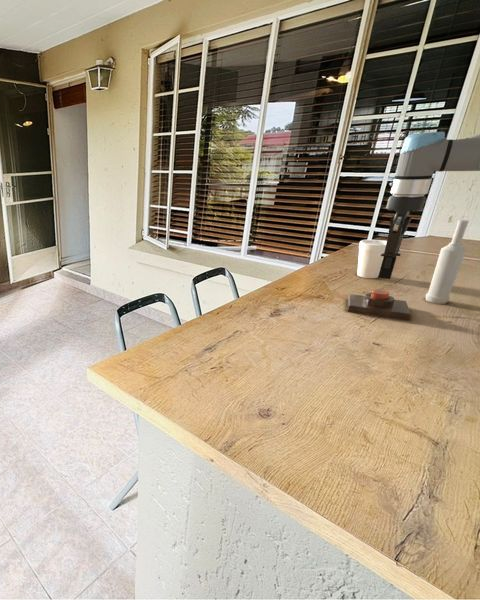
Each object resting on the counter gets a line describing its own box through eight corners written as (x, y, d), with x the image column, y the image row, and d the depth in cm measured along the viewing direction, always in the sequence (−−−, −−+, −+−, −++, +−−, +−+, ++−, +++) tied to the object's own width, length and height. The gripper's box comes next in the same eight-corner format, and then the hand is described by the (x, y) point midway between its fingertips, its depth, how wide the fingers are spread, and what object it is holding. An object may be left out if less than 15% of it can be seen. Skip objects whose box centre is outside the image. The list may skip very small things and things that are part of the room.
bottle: (429, 303, 108) (456, 221, 99) (421, 297, 112) (447, 218, 103) (451, 304, 106) (481, 221, 97) (442, 298, 110) (470, 218, 101)
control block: (404, 306, 107) (407, 294, 105) (409, 320, 98) (413, 307, 97) (347, 299, 114) (350, 287, 113) (347, 311, 106) (350, 299, 105)
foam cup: (352, 277, 133) (360, 244, 128) (352, 270, 140) (359, 238, 135) (384, 280, 127) (394, 246, 123) (382, 273, 134) (391, 240, 130)
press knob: (386, 297, 105) (388, 290, 105) (388, 301, 102) (390, 295, 102) (370, 295, 108) (371, 288, 107) (370, 299, 105) (372, 293, 104)
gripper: (393, 192, 101) (372, 270, 110) (385, 197, 93) (363, 280, 102) (429, 193, 96) (404, 274, 105) (423, 198, 88) (397, 286, 97)
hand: (384, 277), depth 103 cm, fingers closed
